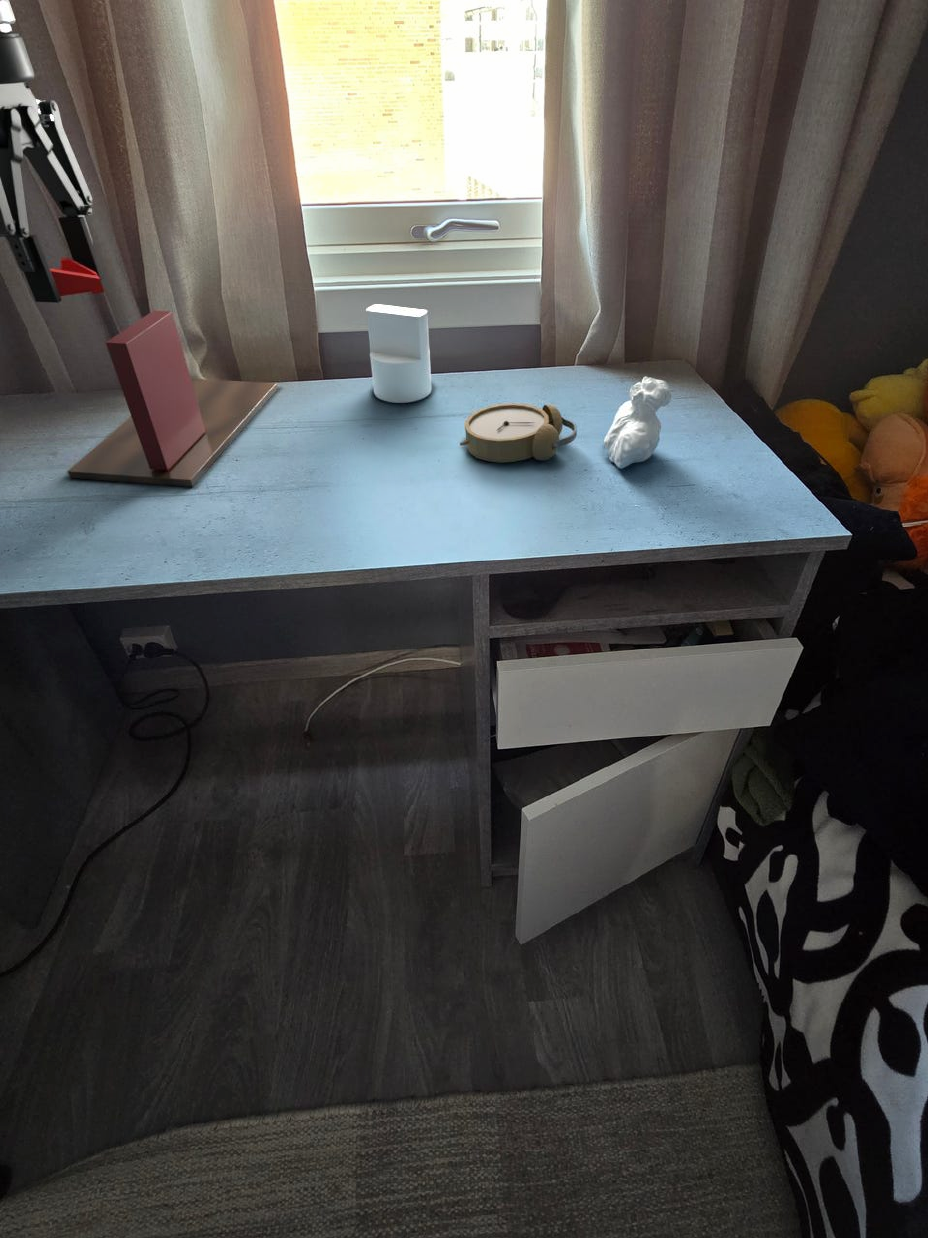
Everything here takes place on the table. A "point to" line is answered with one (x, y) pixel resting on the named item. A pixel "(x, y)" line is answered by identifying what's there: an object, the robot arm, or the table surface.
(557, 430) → the alarm clock
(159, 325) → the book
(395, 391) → the cylinder with rectangular tab
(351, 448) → the table surface
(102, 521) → the table surface
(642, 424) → the white tied bag
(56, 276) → the bracket
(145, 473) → the stand
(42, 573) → the table surface
